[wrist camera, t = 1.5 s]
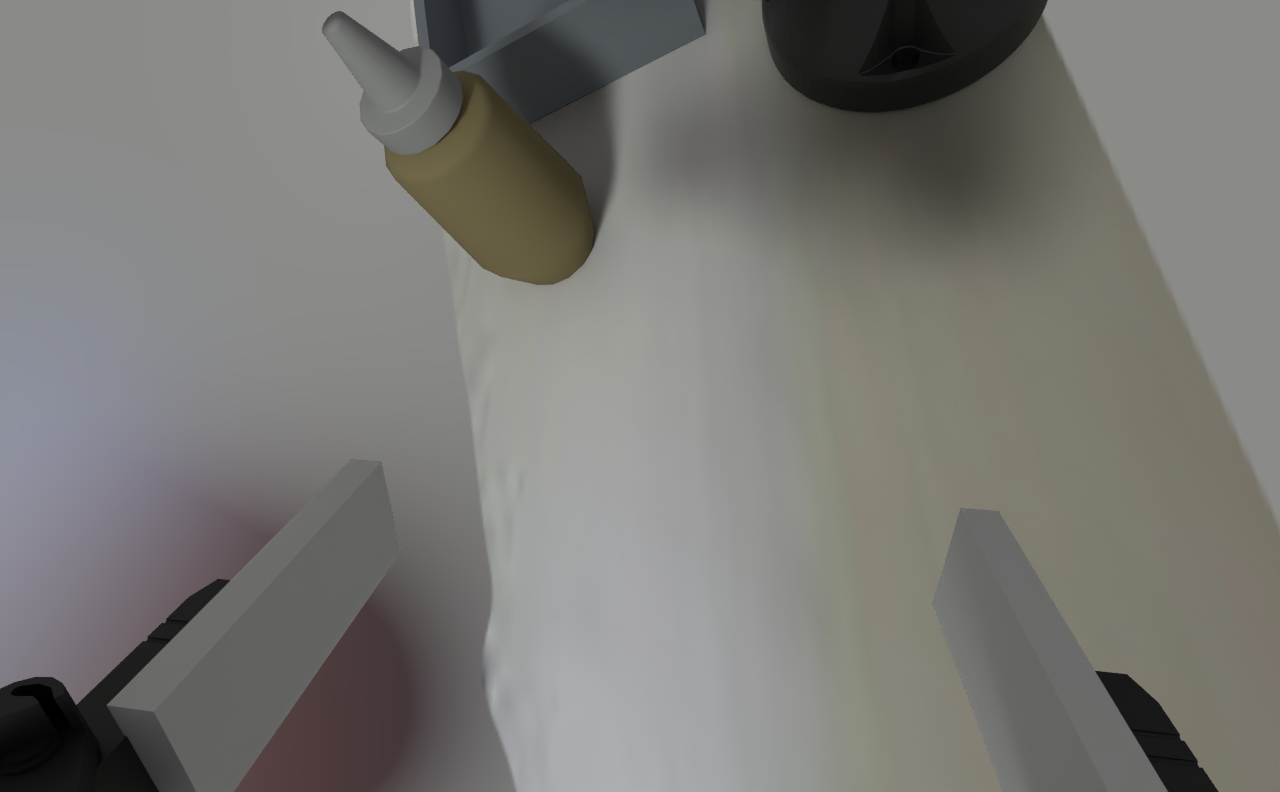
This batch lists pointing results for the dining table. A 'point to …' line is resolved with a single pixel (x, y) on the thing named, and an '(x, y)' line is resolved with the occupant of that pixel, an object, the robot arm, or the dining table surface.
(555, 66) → the box
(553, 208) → the squeeze bottle
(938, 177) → the dining table surface
